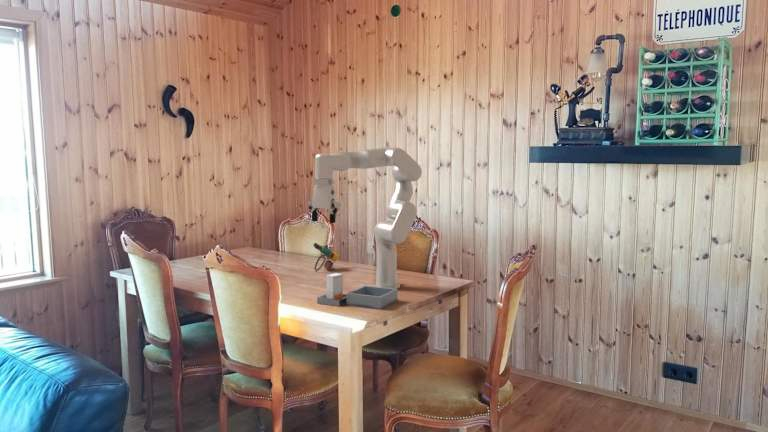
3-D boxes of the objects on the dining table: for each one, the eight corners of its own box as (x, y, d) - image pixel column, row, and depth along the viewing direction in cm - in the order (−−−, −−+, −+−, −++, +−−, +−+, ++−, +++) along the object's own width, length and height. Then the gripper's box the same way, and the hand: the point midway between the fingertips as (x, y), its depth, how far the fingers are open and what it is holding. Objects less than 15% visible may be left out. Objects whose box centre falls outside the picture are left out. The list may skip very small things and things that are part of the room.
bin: (364, 296, 274) (364, 285, 274) (397, 300, 267) (397, 289, 267) (346, 304, 260) (346, 293, 259) (380, 309, 253) (380, 297, 252)
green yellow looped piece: (328, 278, 326) (342, 254, 327) (305, 266, 323) (319, 241, 323) (324, 273, 340) (337, 249, 340) (302, 261, 336) (316, 237, 336)
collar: (330, 297, 272) (330, 292, 272) (351, 300, 267) (351, 294, 267) (317, 303, 262) (317, 297, 262) (339, 306, 258) (339, 300, 257)
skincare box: (333, 304, 261) (332, 276, 260) (326, 302, 264) (325, 274, 263) (343, 301, 266) (343, 274, 264) (336, 299, 268) (336, 272, 267)
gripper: (345, 183, 265) (344, 222, 267) (313, 181, 275) (313, 219, 277) (334, 183, 259) (334, 224, 261) (302, 182, 269) (302, 221, 270)
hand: (323, 222), depth 269 cm, fingers open, 9 cm apart
